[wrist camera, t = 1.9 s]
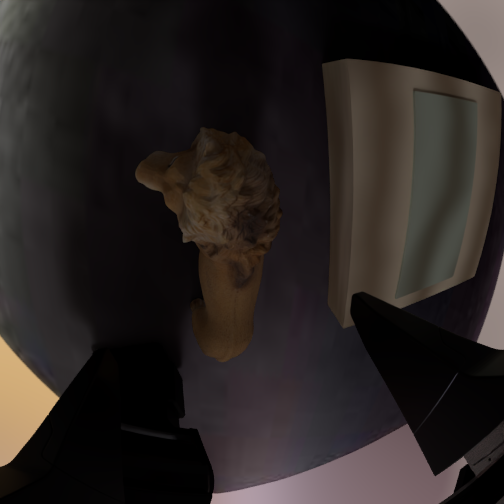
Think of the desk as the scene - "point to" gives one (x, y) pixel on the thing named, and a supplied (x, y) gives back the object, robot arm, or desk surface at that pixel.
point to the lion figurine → (220, 229)
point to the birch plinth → (406, 180)
